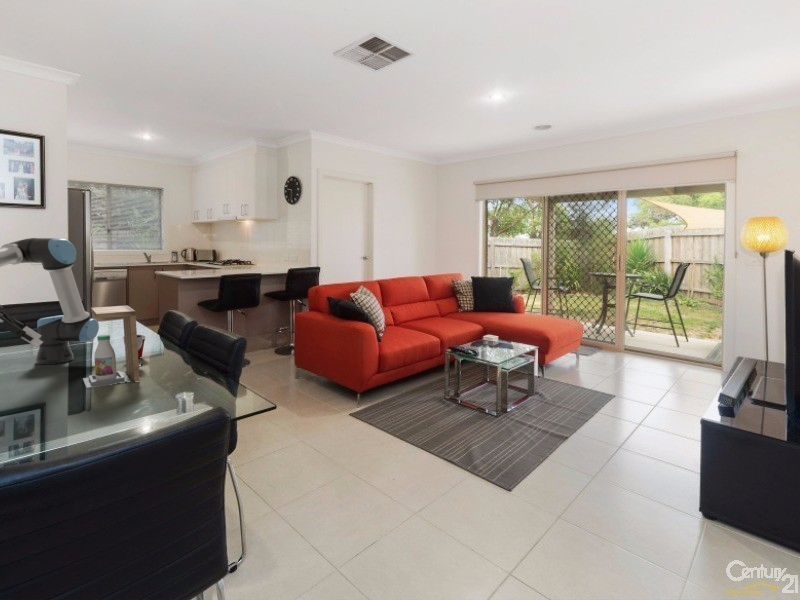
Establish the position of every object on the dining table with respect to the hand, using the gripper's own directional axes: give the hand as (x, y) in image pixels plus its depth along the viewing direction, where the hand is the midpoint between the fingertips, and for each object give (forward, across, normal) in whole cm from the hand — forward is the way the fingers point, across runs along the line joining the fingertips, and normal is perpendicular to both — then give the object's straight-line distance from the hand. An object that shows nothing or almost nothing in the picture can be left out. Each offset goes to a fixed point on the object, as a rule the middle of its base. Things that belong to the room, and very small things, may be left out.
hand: (39, 341), depth 175 cm
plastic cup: (+43, -35, +12) cm, 57 cm away
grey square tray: (+30, -1, 0) cm, 30 cm away
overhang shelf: (+33, -1, +3) cm, 33 cm away
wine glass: (+41, -20, +10) cm, 47 cm away
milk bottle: (+30, -1, +1) cm, 30 cm away
